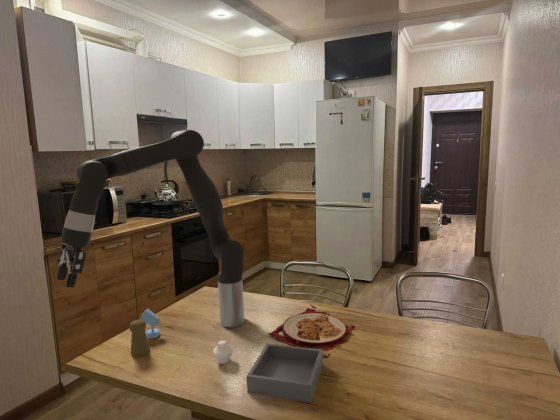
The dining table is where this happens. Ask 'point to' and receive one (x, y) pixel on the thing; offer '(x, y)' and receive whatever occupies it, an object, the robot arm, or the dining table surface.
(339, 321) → the plate with food
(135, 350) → the olive pepper mill
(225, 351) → the white ribbed rounded piece
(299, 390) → the serving bin
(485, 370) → the dining table surface
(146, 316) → the spotlight
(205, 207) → the robot arm
